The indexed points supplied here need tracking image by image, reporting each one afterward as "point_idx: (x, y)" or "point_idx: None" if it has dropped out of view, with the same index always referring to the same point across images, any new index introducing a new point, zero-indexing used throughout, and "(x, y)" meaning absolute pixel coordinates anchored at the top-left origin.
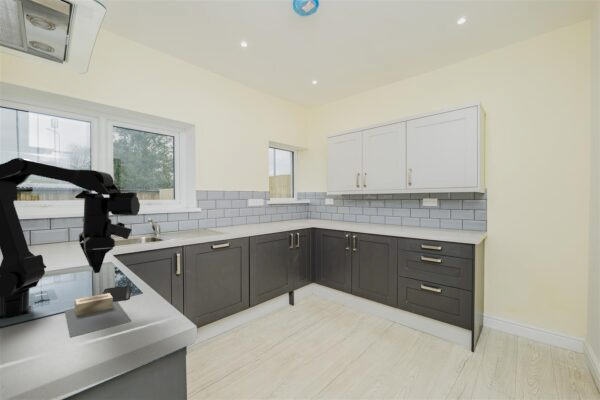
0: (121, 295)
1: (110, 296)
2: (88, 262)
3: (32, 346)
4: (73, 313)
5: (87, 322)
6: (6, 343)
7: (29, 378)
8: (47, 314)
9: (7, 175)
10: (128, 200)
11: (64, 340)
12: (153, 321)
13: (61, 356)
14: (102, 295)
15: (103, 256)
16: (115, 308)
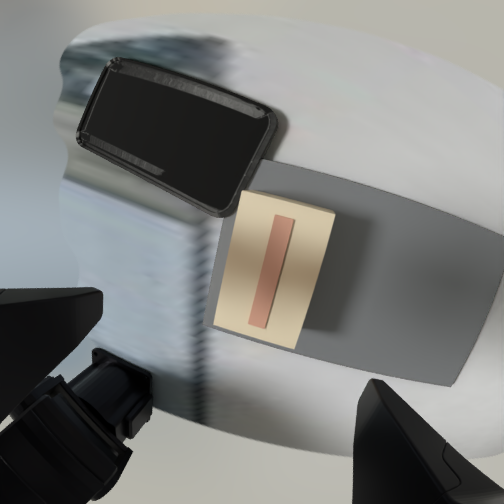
0: (197, 116)
1: (308, 214)
2: (79, 343)
3: None
4: None
5: (399, 329)
6: (325, 453)
7: (501, 439)
8: (184, 353)
9: None
10: None
11: (438, 391)
12: None
13: (494, 405)
14: (256, 231)
15: (478, 484)
16: (353, 207)
